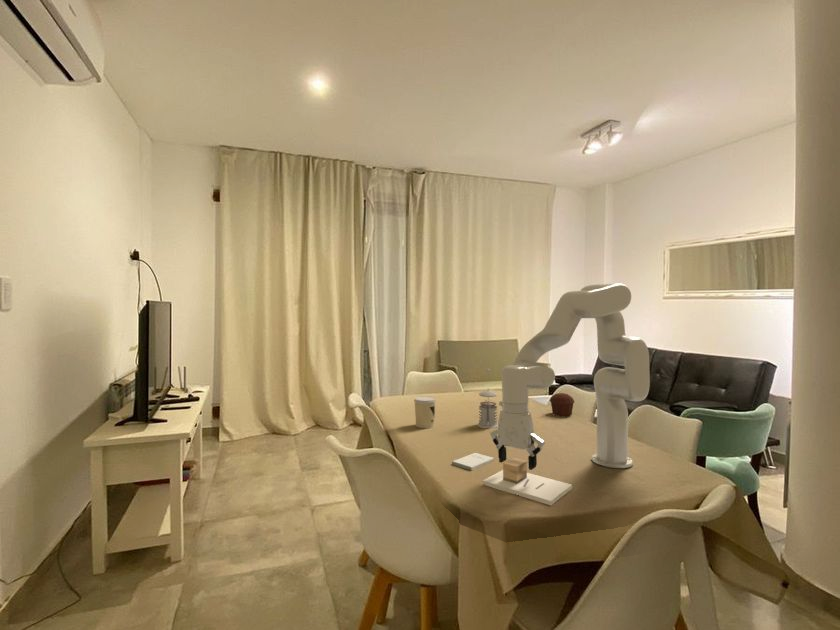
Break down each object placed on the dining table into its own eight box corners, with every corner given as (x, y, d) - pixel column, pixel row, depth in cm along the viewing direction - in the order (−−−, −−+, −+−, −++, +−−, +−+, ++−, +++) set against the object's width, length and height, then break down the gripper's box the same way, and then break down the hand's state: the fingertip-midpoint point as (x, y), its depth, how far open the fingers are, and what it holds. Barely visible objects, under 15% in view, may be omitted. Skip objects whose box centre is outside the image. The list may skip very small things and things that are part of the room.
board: (507, 471, 140) (507, 467, 140) (572, 488, 126) (572, 484, 126) (483, 484, 129) (482, 480, 129) (551, 505, 116) (551, 500, 116)
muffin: (573, 412, 218) (573, 392, 218) (576, 417, 207) (576, 396, 207) (548, 411, 221) (548, 391, 221) (549, 416, 210) (549, 395, 210)
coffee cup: (435, 428, 189) (435, 400, 189) (414, 428, 189) (413, 400, 189) (435, 423, 198) (435, 396, 198) (414, 423, 198) (414, 396, 198)
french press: (499, 422, 198) (499, 367, 198) (499, 429, 187) (499, 371, 187) (477, 421, 200) (477, 366, 200) (476, 428, 189) (476, 370, 188)
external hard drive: (451, 465, 146) (474, 456, 155) (471, 472, 141) (493, 462, 150) (451, 461, 146) (474, 451, 155) (471, 467, 140) (493, 457, 150)
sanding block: (513, 474, 134) (513, 457, 134) (526, 477, 131) (526, 461, 131) (503, 479, 130) (503, 463, 129) (516, 483, 127) (516, 466, 127)
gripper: (483, 406, 133) (485, 462, 133) (537, 414, 122) (538, 475, 122) (496, 401, 139) (498, 455, 139) (548, 408, 127) (550, 467, 128)
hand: (517, 464), depth 131 cm, fingers open, 9 cm apart
